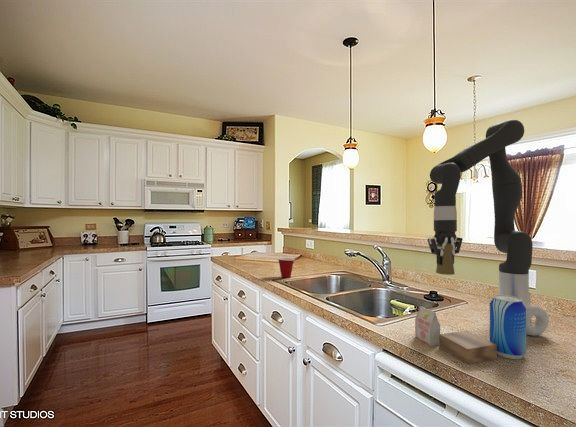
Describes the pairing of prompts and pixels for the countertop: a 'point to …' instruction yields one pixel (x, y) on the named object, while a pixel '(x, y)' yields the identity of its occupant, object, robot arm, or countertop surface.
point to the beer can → (508, 326)
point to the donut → (540, 322)
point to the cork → (446, 261)
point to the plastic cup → (286, 266)
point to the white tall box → (427, 326)
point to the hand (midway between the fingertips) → (445, 265)
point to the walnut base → (468, 347)
